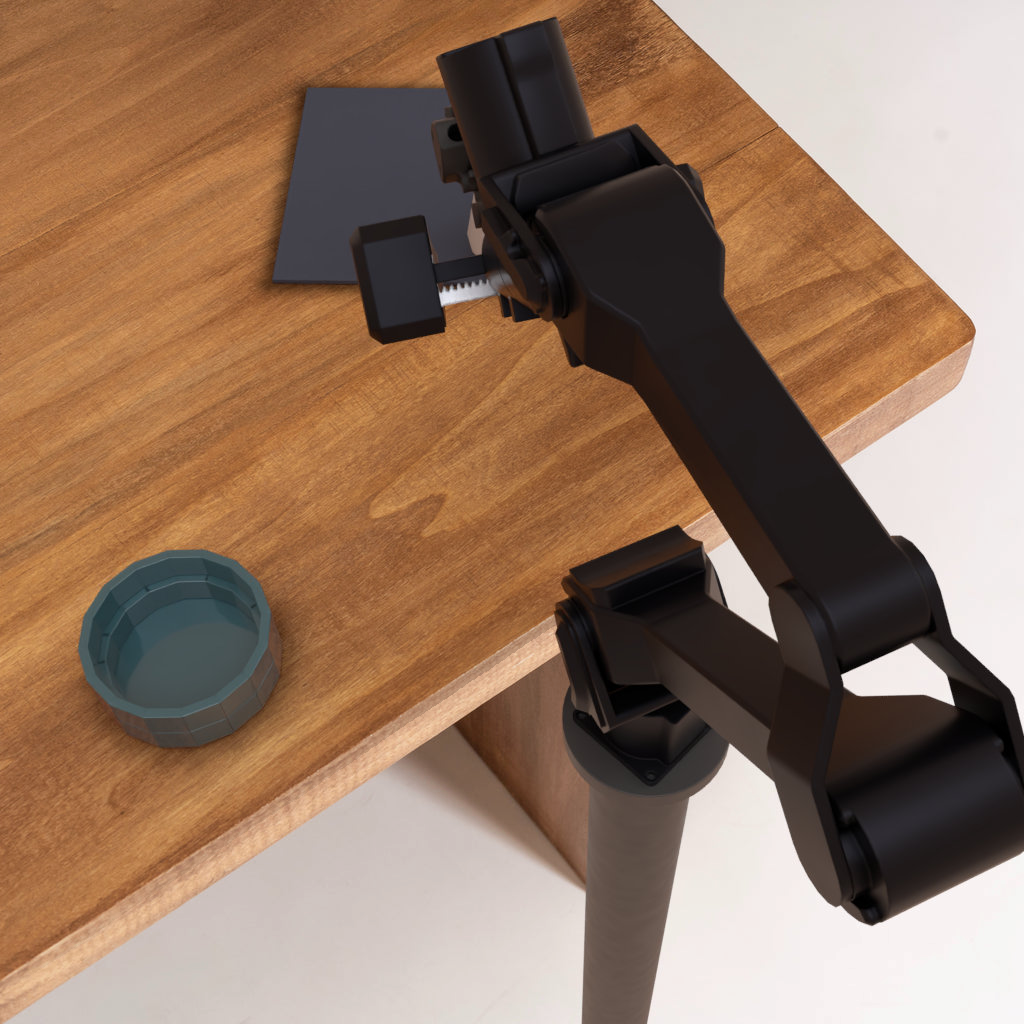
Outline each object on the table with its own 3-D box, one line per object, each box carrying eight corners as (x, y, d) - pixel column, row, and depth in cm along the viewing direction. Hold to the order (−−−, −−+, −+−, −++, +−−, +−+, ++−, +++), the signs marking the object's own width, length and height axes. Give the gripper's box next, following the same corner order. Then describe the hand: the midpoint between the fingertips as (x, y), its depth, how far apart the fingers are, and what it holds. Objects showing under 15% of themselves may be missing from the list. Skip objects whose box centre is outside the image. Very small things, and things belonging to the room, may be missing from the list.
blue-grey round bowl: (320, 663, 85) (308, 627, 81) (176, 787, 81) (157, 755, 77) (206, 556, 89) (190, 517, 86) (64, 668, 85) (41, 633, 82)
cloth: (563, 92, 111) (563, 88, 111) (555, 287, 100) (555, 283, 100) (307, 91, 112) (307, 87, 112) (272, 283, 102) (271, 279, 101)
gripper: (716, 48, 68) (641, 81, 83) (328, 120, 66) (324, 141, 81) (751, 281, 70) (672, 272, 86) (378, 357, 69) (365, 335, 84)
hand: (511, 251), depth 84 cm, fingers open, 9 cm apart
